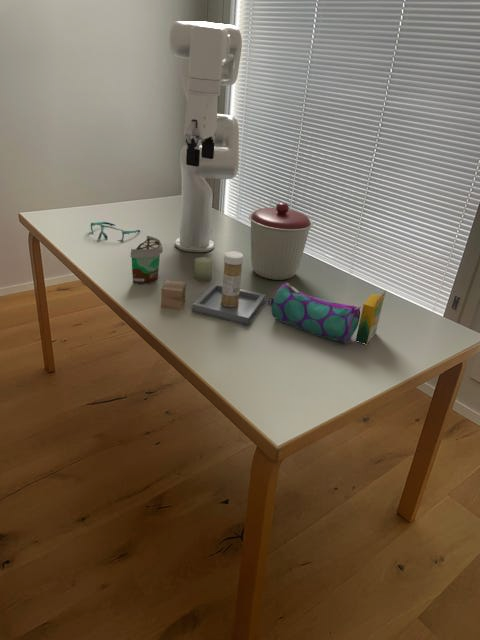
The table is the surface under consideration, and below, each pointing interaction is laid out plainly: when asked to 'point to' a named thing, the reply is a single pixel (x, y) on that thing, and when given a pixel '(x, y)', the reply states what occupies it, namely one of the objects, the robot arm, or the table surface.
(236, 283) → the sprinkles bottle
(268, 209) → the canister
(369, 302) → the crayon box
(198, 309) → the slate tray
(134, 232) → the teal glasses
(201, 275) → the olive cylinder
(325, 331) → the pencil case
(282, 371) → the table surface
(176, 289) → the brown wooden cube
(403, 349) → the table surface
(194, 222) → the robot arm
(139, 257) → the food container
